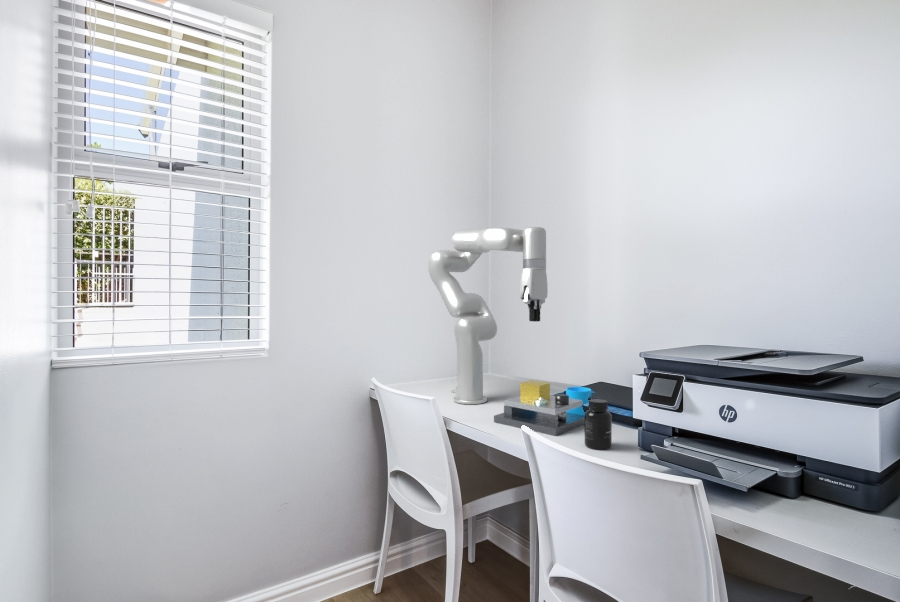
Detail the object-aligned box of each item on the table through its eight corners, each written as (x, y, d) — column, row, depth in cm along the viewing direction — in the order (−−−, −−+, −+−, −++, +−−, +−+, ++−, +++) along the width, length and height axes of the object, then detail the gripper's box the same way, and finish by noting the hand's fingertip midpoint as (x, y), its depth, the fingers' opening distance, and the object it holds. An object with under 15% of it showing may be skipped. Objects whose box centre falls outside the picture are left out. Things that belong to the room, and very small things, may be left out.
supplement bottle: (613, 451, 123) (613, 404, 122) (586, 449, 124) (586, 403, 124) (609, 442, 129) (609, 398, 129) (583, 441, 130) (583, 397, 130)
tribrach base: (493, 422, 151) (493, 406, 151) (528, 411, 165) (528, 396, 165) (555, 435, 136) (555, 418, 136) (587, 422, 150) (587, 406, 150)
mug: (575, 417, 156) (575, 392, 156) (561, 411, 164) (561, 387, 164) (606, 414, 160) (606, 389, 160) (590, 408, 168) (590, 385, 168)
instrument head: (504, 405, 150) (504, 384, 150) (533, 397, 162) (533, 377, 161) (555, 415, 138) (555, 392, 137) (582, 405, 149) (582, 384, 149)
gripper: (537, 266, 166) (537, 319, 166) (511, 265, 155) (511, 322, 155) (556, 265, 161) (556, 320, 161) (531, 263, 150) (531, 322, 150)
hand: (534, 321), depth 158 cm, fingers closed
